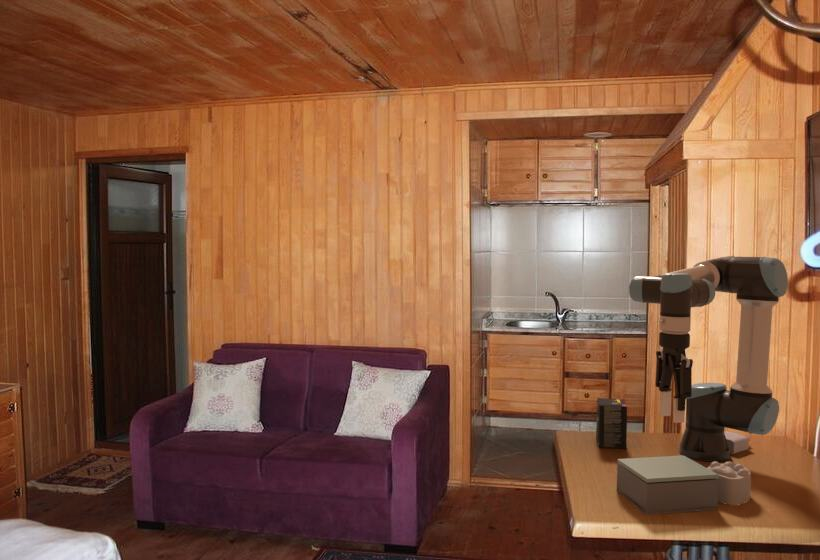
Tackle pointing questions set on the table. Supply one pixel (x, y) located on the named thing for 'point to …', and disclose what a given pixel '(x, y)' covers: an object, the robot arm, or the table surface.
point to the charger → (736, 442)
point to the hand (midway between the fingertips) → (671, 418)
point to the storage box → (667, 493)
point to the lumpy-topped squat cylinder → (732, 482)
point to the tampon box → (611, 423)
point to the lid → (667, 469)
